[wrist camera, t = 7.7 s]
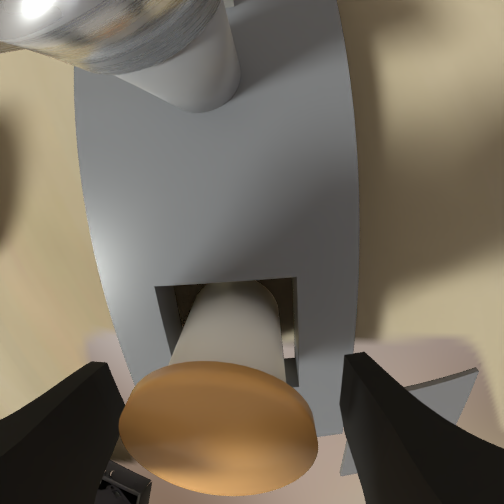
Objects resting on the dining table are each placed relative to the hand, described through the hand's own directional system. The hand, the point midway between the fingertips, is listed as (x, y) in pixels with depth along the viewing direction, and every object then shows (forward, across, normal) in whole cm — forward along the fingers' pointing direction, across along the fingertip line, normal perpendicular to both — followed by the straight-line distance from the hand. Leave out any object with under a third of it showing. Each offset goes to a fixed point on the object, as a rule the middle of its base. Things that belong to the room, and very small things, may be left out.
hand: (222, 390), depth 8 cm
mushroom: (+4, 0, 0) cm, 5 cm away
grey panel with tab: (+4, 0, -4) cm, 6 cm away
